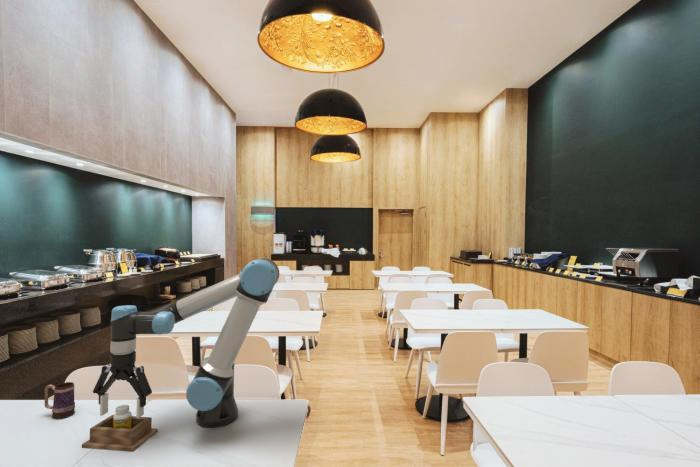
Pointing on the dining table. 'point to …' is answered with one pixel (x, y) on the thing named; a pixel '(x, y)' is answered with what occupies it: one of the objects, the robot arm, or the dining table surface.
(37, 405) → the dining table surface
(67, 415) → the mug
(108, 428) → the walnut caddy
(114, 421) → the supplement bottle
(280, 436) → the dining table surface
